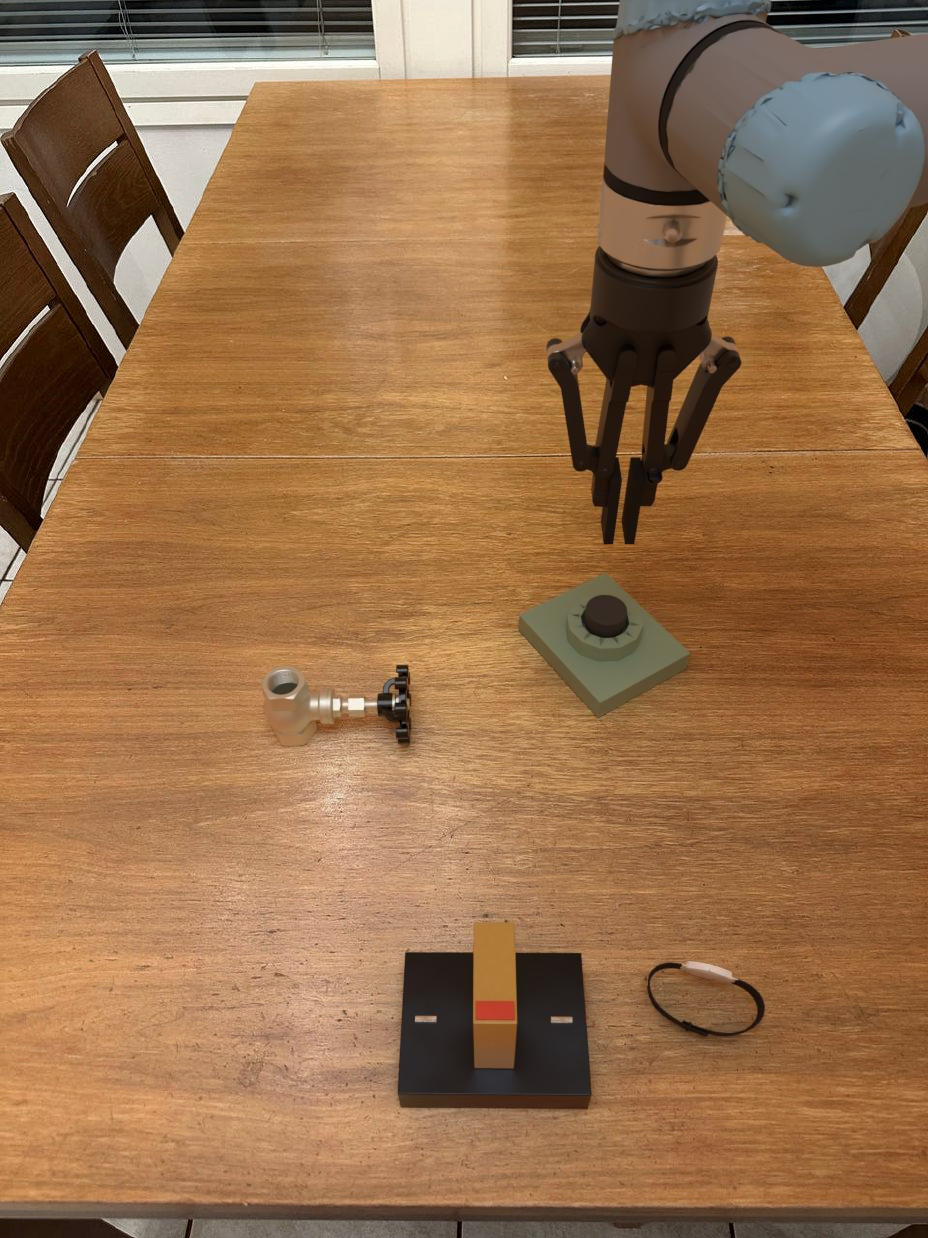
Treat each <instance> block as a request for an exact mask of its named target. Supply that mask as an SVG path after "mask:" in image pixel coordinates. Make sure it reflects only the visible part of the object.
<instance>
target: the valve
mask: <svg viewBox="0 0 928 1238" xmlns="http://www.w3.org/2000/svg"><path fill="white" fill-rule="evenodd" d="M395 672H396V673H397V676H395V677H392V678H390V679H387V681H386V682H385V683H384V684H383V686H382V687H383V688H382V692H378V693H377V697H376V698H367V695H366V694H365V693H350V694H349V695H348V697H347V698H343V695H342V694H341V693H338V694H337V693H336V690H335V688H334V687H322V688H320V690H319V691H311V690H310V688H309V683H308V681H307V678H305V675H304V674H303V673H302V671H301V669H300V668H299V666H293V665H280V666H274V667H272V669H270V670H269V672H267V673H266V675H264V677H263V679H262V680H261V681H260V682H259V686H260V688H261V689H260V690H261V692H262V696H263V697H264V701H263V712H264V716H265V718H266V720H267V722H268V723H269V725H270V726H271V727H272V731H273V732H274V734H275V737H276V738H277V740H278V742H279V743H280V745H281V746H283V747H300V746H305V745H306V744H308V743H309V741H310V740H311V739H312V738H313V736H314V735H315V734H316V732H317V730H318V724H317V721H320V724H321V725H334V724H335V722H336V718H342V716H343V714H345V713H346V714H347V713H348V715H349V716H348V717H349V718H365V717H366V716H367V712H377V717H378V718H384V719H385V720H386V721H388V722H391V723H395V724H399V727H395V739H396V740H397V744H398V745H410V744H411V731H412V726H413V725H412V717H411V710H410V709H411V707H412V703H413V702H412V701H413V700H412V699H413V698H412V693H411V692H410V685H411V671H410V667H409V664H396V665H395ZM392 686H394V690H395V691H398V693H397V692H390V689H391V687H392Z"/></svg>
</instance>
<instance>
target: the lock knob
mask: <svg viewBox="0 0 928 1238" xmlns="http://www.w3.org/2000/svg"><path fill="white" fill-rule="evenodd" d="M472 947H473V948H472V949H473V951H472V952H473V1038H474V1067H475V1068H514V1062H515V1048H516V1034H517V991H516V953H517V952H516V924H515V922H473V946H472Z"/></svg>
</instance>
